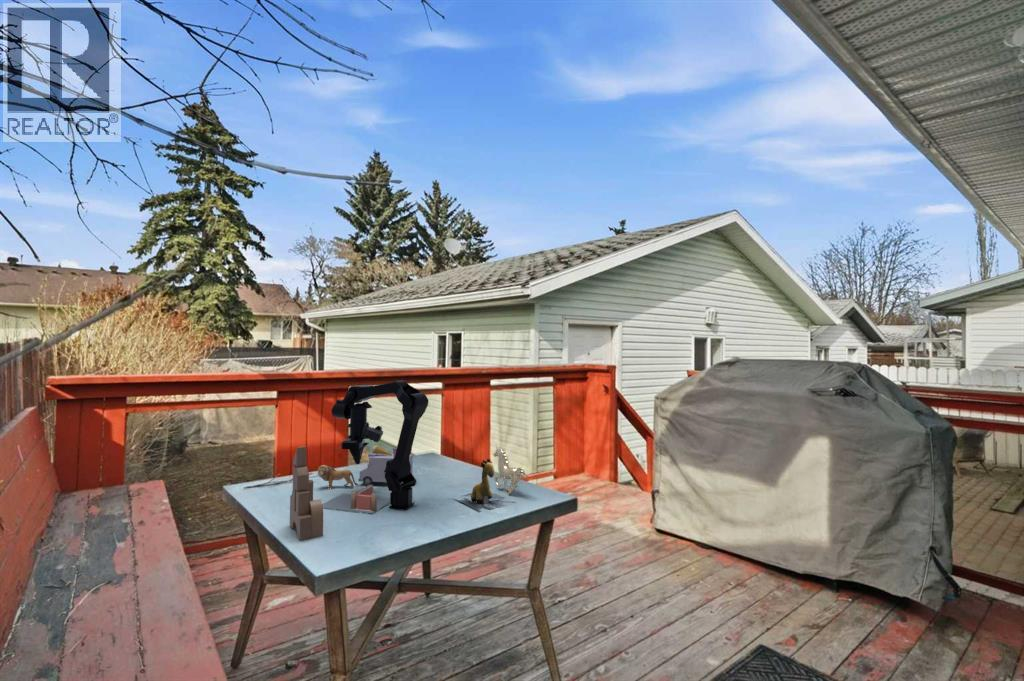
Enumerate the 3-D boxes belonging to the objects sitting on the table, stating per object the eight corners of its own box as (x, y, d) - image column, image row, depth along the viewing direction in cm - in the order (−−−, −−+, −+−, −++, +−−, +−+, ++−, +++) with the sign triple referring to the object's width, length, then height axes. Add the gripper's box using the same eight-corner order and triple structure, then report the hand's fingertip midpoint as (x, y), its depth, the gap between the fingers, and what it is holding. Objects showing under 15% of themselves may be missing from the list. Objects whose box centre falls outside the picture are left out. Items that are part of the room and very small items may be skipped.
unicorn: (529, 499, 177) (530, 451, 177) (521, 501, 175) (521, 452, 175) (497, 485, 193) (498, 441, 193) (489, 487, 191) (489, 443, 191)
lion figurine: (317, 491, 183) (317, 467, 183) (318, 487, 188) (318, 463, 188) (358, 488, 187) (358, 464, 187) (358, 484, 192) (358, 461, 192)
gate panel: (357, 505, 165) (357, 493, 165) (354, 505, 166) (354, 493, 166) (372, 496, 175) (372, 484, 175) (369, 496, 175) (369, 484, 175)
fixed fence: (377, 510, 163) (377, 493, 163) (374, 512, 161) (374, 495, 161) (352, 507, 165) (353, 491, 165) (349, 509, 164) (350, 492, 164)
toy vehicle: (365, 479, 198) (366, 442, 198) (413, 481, 198) (414, 443, 198) (357, 486, 189) (358, 447, 189) (408, 488, 188) (408, 448, 188)
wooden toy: (324, 536, 142) (325, 449, 142) (299, 541, 138) (300, 452, 138) (311, 519, 155) (312, 440, 155) (288, 523, 151) (289, 442, 151)
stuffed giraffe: (479, 512, 163) (480, 464, 164) (450, 500, 177) (452, 455, 178) (516, 505, 173) (517, 459, 173) (487, 493, 187) (488, 451, 188)
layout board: (395, 499, 174) (395, 498, 174) (372, 514, 160) (372, 513, 160) (342, 494, 180) (342, 493, 180) (316, 507, 165) (316, 506, 165)
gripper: (373, 425, 167) (373, 471, 167) (387, 416, 186) (386, 458, 186) (340, 424, 167) (340, 470, 167) (357, 416, 186) (357, 457, 186)
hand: (357, 464), depth 176 cm, fingers closed
